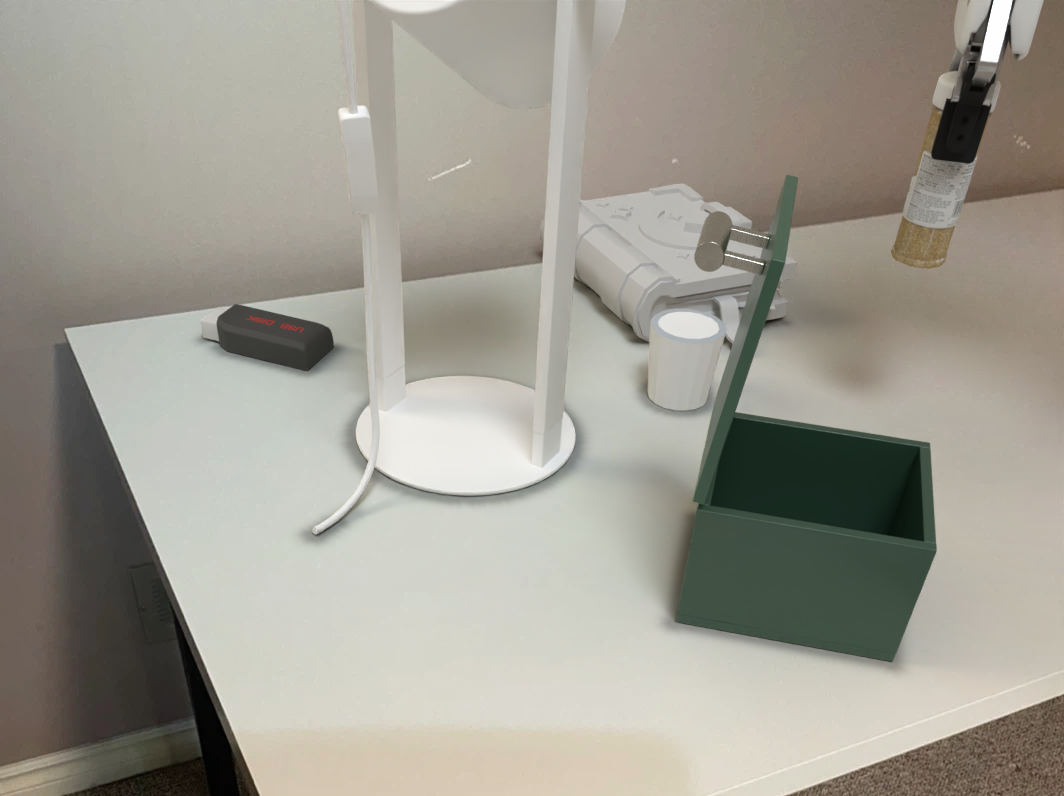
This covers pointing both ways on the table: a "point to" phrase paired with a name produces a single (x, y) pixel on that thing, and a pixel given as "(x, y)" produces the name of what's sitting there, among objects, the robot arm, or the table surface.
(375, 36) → the desk lamp
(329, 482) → the table surface
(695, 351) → the white cup
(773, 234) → the lid
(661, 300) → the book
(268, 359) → the usb drive
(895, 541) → the green box
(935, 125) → the sprinkles bottle
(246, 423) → the table surface
